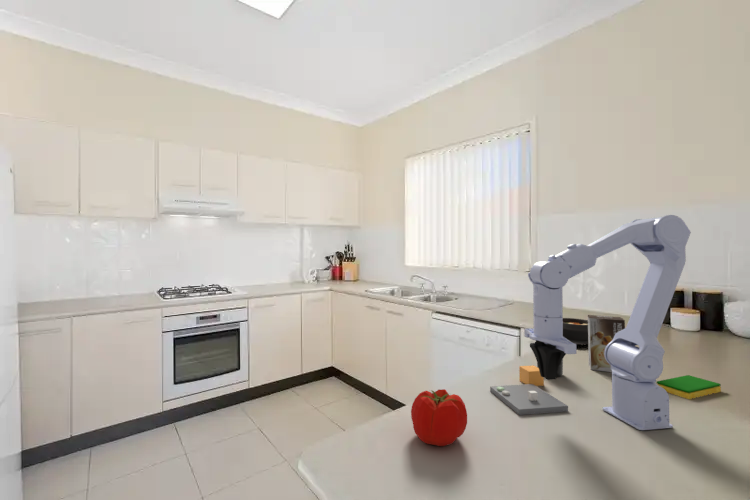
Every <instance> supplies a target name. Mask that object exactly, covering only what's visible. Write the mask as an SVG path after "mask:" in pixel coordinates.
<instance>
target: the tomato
mask: <svg viewBox="0 0 750 500" xmlns="http://www.w3.org/2000/svg"><path fill="white" fill-rule="evenodd" d="M430 391H431V392H430ZM410 414H411V416H410V417H411V421H412V422H411V423H412V427H413V430H414V434H416V436H417V437H418V438H419V440H420V441H421V442H423V443H425V444H426V445H432V446H438V447H445V446H448V445H452V444H453V443H454V442H455V441H456V440H457V439H459V438H460V437H461V436H462V435H463V434H464V432H465V430H466V428H467V424H468V413H467V408H466V404H465V402H464V400H463V399H462V398H461V396H460V395H458V394H455V393H454V394H450V393H449V392H448V391H447V390H446V389H437V390H435V391H434V390H432V389H431V390H429V391H428V390H424V391H422V392H420V393H418V395H417V396H416V397H415V398H414V400H413V402H412V406H411V409H410Z"/></svg>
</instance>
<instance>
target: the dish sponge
mask: <svg viewBox="0 0 750 500" xmlns="http://www.w3.org/2000/svg"><path fill="white" fill-rule="evenodd" d="M656 384H657V385H659V386H660V387H662V388H664V389H665V390H666V391H667V393H668V394H671V395H675V396H678V397H680V398H684V399H686V400H692V398H693V399H697V398H700V396H701V397H705V396H709V395H713V394H712V393H714V394H718V393H721V392H722V387H721V383H719V382H716V381H713V380H708V379H703V378H700V377H697V376H693V375H689V374H686V375H682V376H678V377H671V378H667V379H661V380H658V381H657V380H656ZM708 394H709V395H708ZM704 395H705V396H704ZM696 397H697V398H696Z"/></svg>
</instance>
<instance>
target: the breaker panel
mask: <svg viewBox="0 0 750 500" xmlns="http://www.w3.org/2000/svg"><path fill="white" fill-rule="evenodd" d="M528 391H536V392H537V393H538V400H536V401H531V400H529V399H528ZM489 392H490V393H492V394H493V395H495V397H497V398H498V399H499V400H500V401H502V403H504V404H505V405H507V406H508V407H509V408H510V409H511V410H512V411H514V412H515V413H516V414H517V415H518V416H523V415H534V414H535V415H536V414H549V413H551V414H552V413H562V412H563V413H565V412H569V405H567V404H566V403H564V402H562V401H561V400H559V399H558V398H557V397H554V396H553V395H552V394H550V393H549V392H546V390H543V389H542V388H540V387H539V386H535V385H534V384H524V383H522V384H511V385H510V384H509V385H506V384H505V385H494V386H489Z"/></svg>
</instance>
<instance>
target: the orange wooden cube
mask: <svg viewBox="0 0 750 500" xmlns="http://www.w3.org/2000/svg"><path fill="white" fill-rule="evenodd" d="M518 368H519V370H518V371H519V372H518V373H519V375H518V376H519V381H520V382H521V383H522V384H534V385H535V386H537V387H540V386H541V387H542V386H543V387H544V386H545V377H541V375H540V371H539V368H538V367H537V365H536V366H535V365H519V367H518Z"/></svg>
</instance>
